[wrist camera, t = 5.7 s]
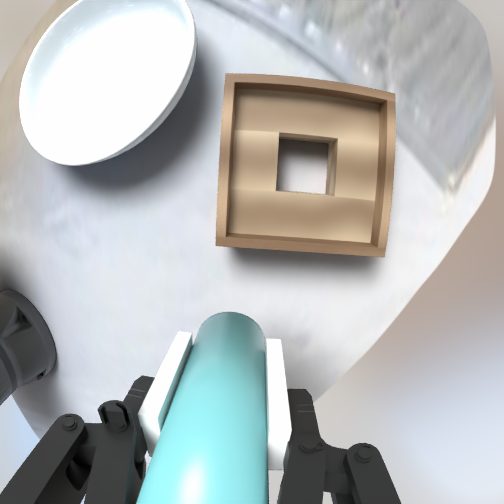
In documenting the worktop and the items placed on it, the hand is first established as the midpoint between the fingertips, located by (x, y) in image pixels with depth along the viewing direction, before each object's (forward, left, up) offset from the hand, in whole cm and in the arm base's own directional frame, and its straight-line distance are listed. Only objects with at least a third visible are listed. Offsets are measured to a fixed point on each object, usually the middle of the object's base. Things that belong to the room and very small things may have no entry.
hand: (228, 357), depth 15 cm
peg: (0, 0, -2) cm, 2 cm away
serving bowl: (+21, +16, -17) cm, 31 cm away
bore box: (+11, -5, -16) cm, 20 cm away
